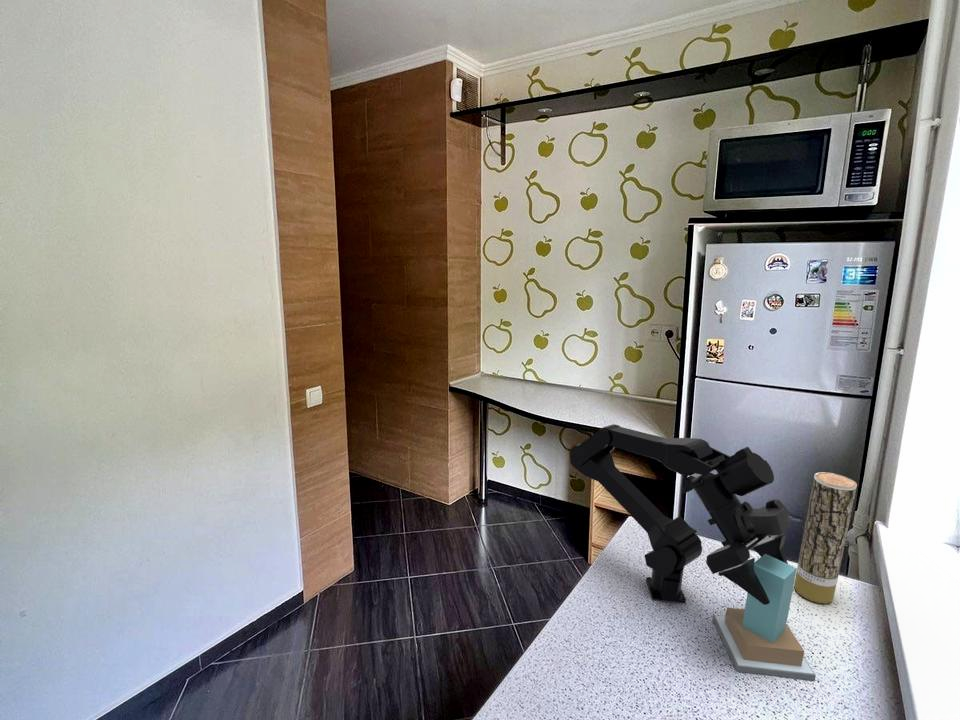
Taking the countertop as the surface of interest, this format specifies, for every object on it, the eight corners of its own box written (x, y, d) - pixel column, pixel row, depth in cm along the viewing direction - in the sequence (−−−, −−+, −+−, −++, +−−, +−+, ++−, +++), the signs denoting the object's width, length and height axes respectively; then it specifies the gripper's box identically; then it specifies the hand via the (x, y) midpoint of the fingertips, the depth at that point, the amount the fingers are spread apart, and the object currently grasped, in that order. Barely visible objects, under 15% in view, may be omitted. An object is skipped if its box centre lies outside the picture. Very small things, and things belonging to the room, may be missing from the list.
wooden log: (832, 610, 98) (856, 491, 93) (791, 595, 102) (812, 480, 97) (834, 592, 103) (857, 479, 98) (795, 578, 107) (815, 469, 102)
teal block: (742, 625, 88) (752, 564, 85) (755, 613, 91) (765, 553, 88) (772, 643, 84) (784, 579, 81) (785, 630, 87) (796, 568, 84)
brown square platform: (712, 619, 95) (715, 600, 94) (780, 626, 93) (784, 607, 92) (736, 671, 83) (740, 650, 82) (814, 680, 82) (819, 659, 81)
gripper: (734, 503, 79) (800, 604, 73) (784, 474, 91) (844, 559, 85) (682, 527, 87) (737, 620, 81) (734, 497, 98) (786, 576, 92)
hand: (779, 592), depth 85 cm, fingers open, 9 cm apart
